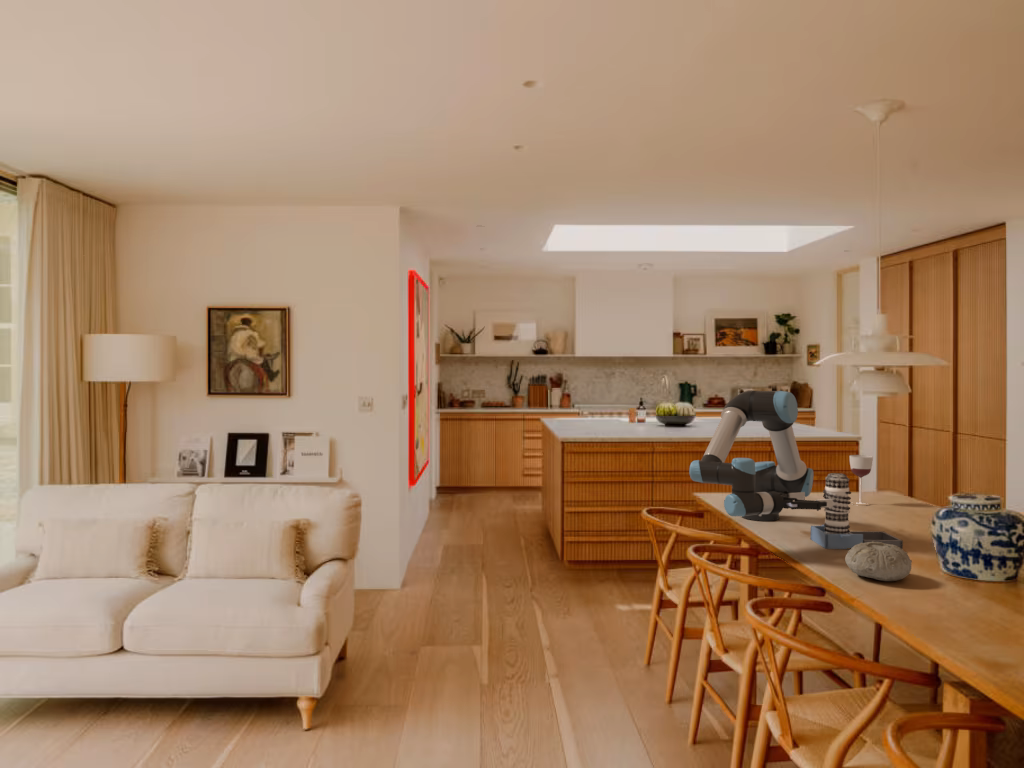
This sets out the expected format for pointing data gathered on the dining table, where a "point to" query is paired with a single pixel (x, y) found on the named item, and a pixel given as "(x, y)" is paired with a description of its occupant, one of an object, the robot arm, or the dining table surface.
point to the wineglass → (861, 468)
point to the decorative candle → (837, 504)
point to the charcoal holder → (879, 537)
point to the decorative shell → (879, 561)
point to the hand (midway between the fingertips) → (817, 499)
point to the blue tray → (834, 539)
